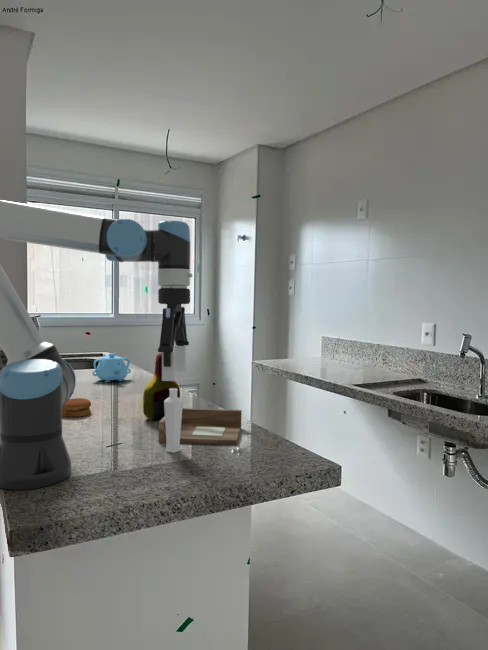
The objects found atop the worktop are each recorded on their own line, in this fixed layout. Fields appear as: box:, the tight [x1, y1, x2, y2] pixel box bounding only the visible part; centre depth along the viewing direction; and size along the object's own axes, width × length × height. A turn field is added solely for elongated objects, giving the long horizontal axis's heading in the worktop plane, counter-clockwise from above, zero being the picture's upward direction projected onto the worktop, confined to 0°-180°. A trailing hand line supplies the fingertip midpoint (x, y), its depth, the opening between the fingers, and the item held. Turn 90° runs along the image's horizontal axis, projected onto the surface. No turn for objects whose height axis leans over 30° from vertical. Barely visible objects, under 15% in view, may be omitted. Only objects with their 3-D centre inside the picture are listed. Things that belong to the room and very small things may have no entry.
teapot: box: [92, 353, 131, 383], centre depth 212 cm, size 20×17×12 cm
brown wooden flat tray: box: [158, 407, 242, 446], centre depth 133 cm, size 16×20×5 cm
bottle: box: [141, 352, 181, 421], centre depth 150 cm, size 12×6×20 cm, turn 119°
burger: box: [62, 397, 92, 418], centre depth 154 cm, size 10×9×5 cm
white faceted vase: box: [164, 388, 184, 453], centre depth 119 cm, size 5×4×15 cm
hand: (174, 375), depth 119 cm, fingers open, 13 cm apart
